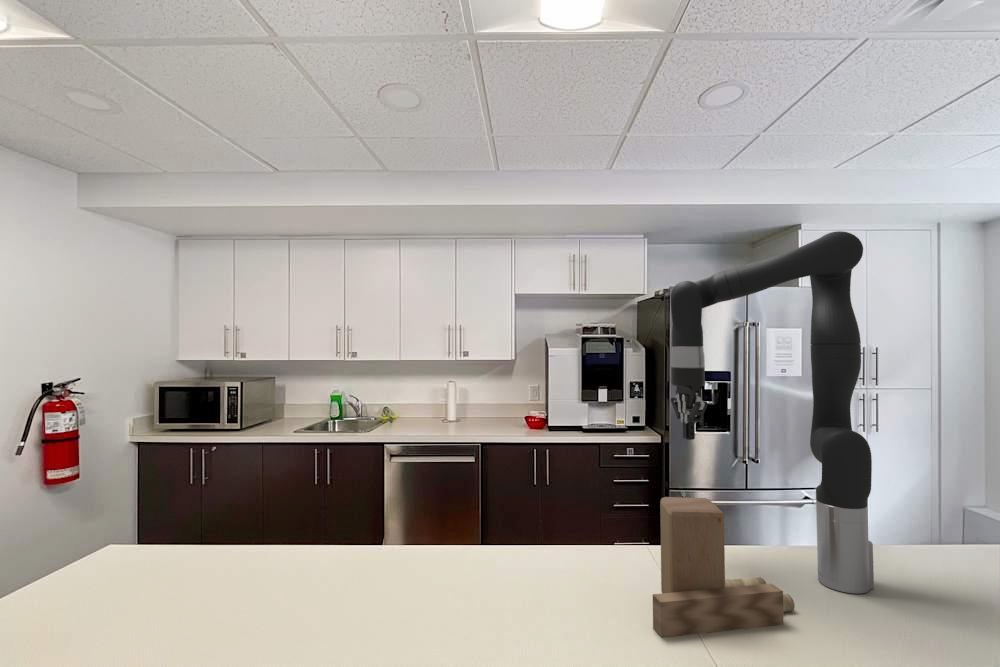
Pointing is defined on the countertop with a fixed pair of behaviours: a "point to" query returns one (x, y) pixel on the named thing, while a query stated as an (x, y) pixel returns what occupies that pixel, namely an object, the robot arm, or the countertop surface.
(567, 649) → the countertop surface
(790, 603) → the roller
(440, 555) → the countertop surface
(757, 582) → the roller
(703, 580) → the wooden block
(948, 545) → the countertop surface
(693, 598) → the board
